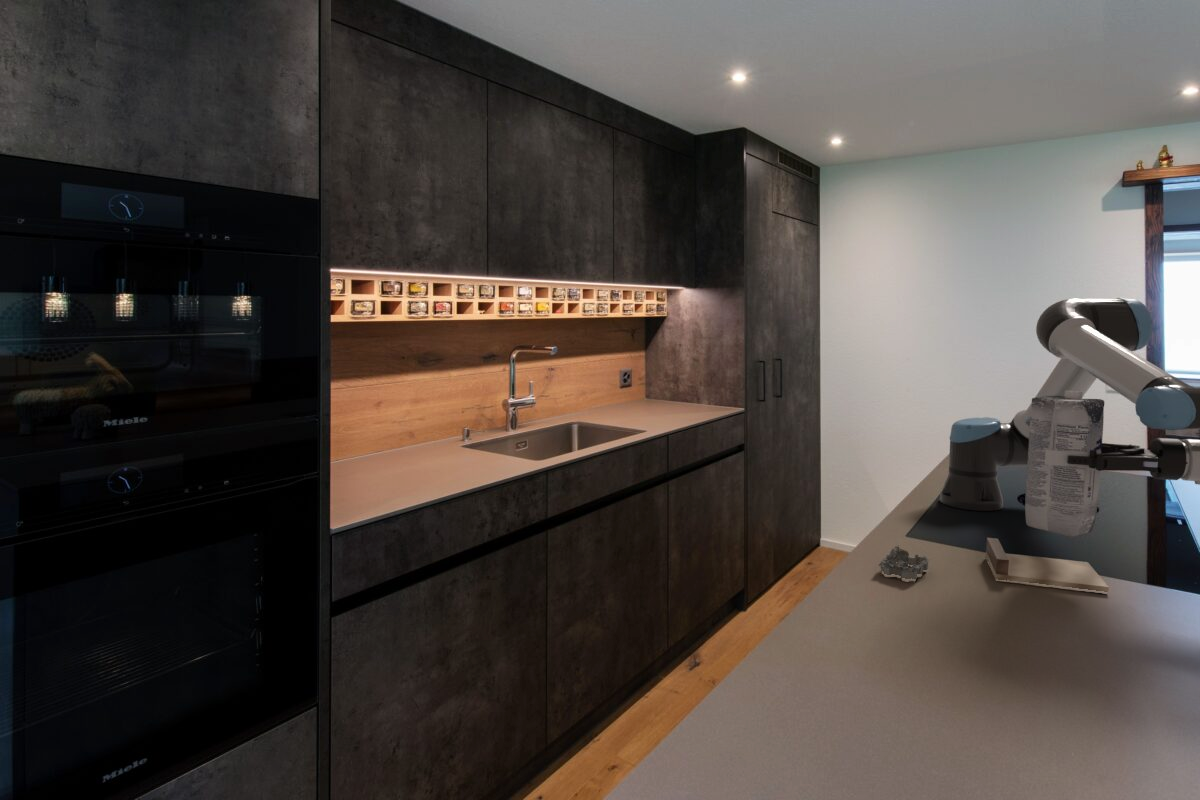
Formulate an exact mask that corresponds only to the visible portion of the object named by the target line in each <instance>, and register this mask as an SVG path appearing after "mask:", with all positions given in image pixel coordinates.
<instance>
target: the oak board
mask: <svg viewBox="0 0 1200 800" xmlns="http://www.w3.org/2000/svg"><path fill="white" fill-rule="evenodd" d="M1005 554H1006V555H1007V557H1008V559H1009V567H1008V575H1001V574H996V573H995V570H994V568H993V566H992V564H991V561H990V559H989V557H988V555H987V552H986V551H985V559H986V558H987V560H988V562H989V565H990V567H991V569H992V572H993V574H994V576H995V579H998V580H1006V581H1007V580H1009V581H1018V582H1029V583H1039V584H1046V585H1055V586H1062V587H1072V588H1079V589H1088V590H1096V591H1104V592H1108V593H1109V586H1108V585H1107V583H1106V582H1105V581H1104V580H1103V578H1102V577H1101V576H1100V575H1099V574H1098V573H1097V571H1096V570H1095V569H1094V568H1093V567H1092V566H1091V564H1090V563H1089V562H1088V561H1082V560H1081V561H1080V560H1079V561H1078V560H1070V559H1061V558H1050V557H1042V556H1034V555H1033V556H1032V555H1024V554H1014V553H1006V552H1005ZM987 560H986V561H987ZM989 565H988V566H989ZM990 567H989V568H990ZM992 572H991V573H992ZM993 574H992V575H993ZM995 579H994V580H995Z"/></svg>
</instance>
